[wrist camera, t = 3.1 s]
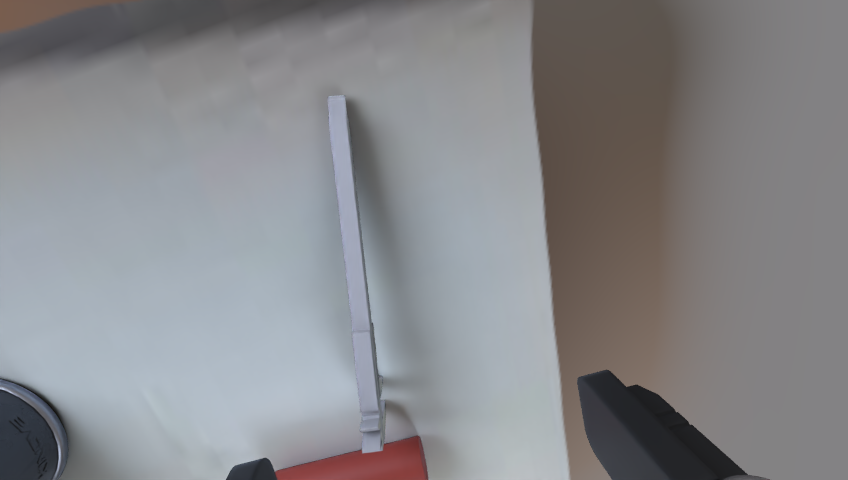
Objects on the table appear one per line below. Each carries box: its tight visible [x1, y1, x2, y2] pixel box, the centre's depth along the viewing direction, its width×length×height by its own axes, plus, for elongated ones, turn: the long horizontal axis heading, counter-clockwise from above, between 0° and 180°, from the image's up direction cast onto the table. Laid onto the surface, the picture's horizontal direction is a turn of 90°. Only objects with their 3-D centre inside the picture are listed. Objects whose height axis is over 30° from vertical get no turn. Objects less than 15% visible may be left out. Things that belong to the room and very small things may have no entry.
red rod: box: [275, 436, 428, 480], centre depth 27 cm, size 10×3×3 cm, turn 102°
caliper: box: [328, 95, 386, 453], centre depth 23 cm, size 20×1×6 cm, turn 6°
